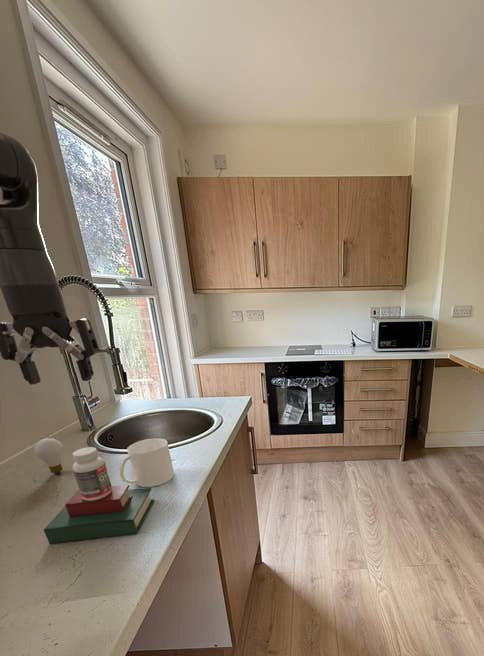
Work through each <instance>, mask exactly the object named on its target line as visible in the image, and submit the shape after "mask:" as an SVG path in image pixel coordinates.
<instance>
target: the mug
mask: <svg viewBox="0 0 484 656" xmlns="http://www.w3.org/2000/svg"><path fill="white" fill-rule="evenodd" d="M168 443H169V442H168V441H167V439H164V438H161V437H152V438H146V439H142V440H138V441H136V442H134V443H132V444H130V445H129V446H127V448H126V451H127V455H126V456H124V457H123V458H122V460H121V462H120V465H119V470H118V471H119V472H118V473H119V477H120V478H121V481H122V482H125V483H127V484H129V485H134V484H135V485H137V486H139V487H141V488H155V487H159V486H161V485H164V484H166V483H168V482H170V481H171V480H172V479H173V477H174V476H175V470H174V466H173V461H172V457H171V453H170V452H171V451H170V449H169V444H168ZM128 461H129V463H130V466H131V470H132V473H133V477H134V479H128V478H127V477H125V474H124V469H125V466H126V463H127V462H128Z"/></svg>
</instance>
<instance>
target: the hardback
mask: <svg viewBox="0 0 484 656" xmlns="http://www.w3.org/2000/svg"><path fill="white" fill-rule="evenodd" d="M152 489H153V487H142V488H133V489H128V490H129V493H130V495H132V498H131V500H130V501H129V503H128V505H127V506H126V508H125V509H124V511H123V512H114V513H104V514H95V515H85V516H76V517H69V514H68V511H67V509H66V506H65V505H64V507H63V508H62V509H61V510H60V511H59V512H58V513H57V514H56V515H55V516H54V518H52V520H51V521H50V522H49V523H48V524H47V525H46V526H45V527H44V528H43V532H44V534H45V537H46V539H47V542H48V545H55V544H56V545H57V544H63V543H71V542H81V541H82V542H83V541H90V540H91V541H92V540H98V539H107V538H115V537H116V538H117V537H125V536H133V535H138V533H139V531H140V529H141V528H142V526H143V524H144V522H145V520H146V518H147V517H148V514H149V512H150V510H151V509H152V507H153V504H154V502H155V498H153V499H152V497H151V494H150V493H151V491H152Z"/></svg>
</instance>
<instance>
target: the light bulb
mask: <svg viewBox="0 0 484 656" xmlns="http://www.w3.org/2000/svg"><path fill="white" fill-rule="evenodd" d="M63 453H64V446H63V444H62V443H61V442H60V440H57V439H56V438H51V437H50V438H47V437H46V438H43V439H41V440H39V441H38V442H37V443H36V444H35V446H34V454H35V456H36V457H37V458H38V459H40V460H41V461H43V462H44V463H45V464H46V466H47V467H48V469H49V471H50V473H51V474H55V475H58V474H60V473H61V472H62V471H63V470H64V469H63V465H62V455H63Z"/></svg>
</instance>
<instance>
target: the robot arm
mask: <svg viewBox="0 0 484 656" xmlns="http://www.w3.org/2000/svg"><path fill="white" fill-rule="evenodd" d="M37 171H38V170H37V168H36V164H35V162H34V160H33V157H32V155H31V154H30V152H29V151H28V149H27V148H26V147H25V146H24V144H23V143H22V142H20V140H19V139H17V138H16V137H14V136H12V135H11V134H8V133H6V132H3V131H0V194H1V195H0V291H1V294H2V296H3V299H4V302H5V305H6V308H7V311H8V313H9V314H10V315H11V317H12V322H8V321H0V356H1V358H2V359H3V360H5V361H8V360H9V361H13V362H15V363H17V364H18V366H19V369H20V371H21V373H22V377H23V379H24V380H25V381H26V382H28V384H29V385H37V384H40V383H41V376H40V374H39V371H38V368H37V365H36V362H35V360H32V358H33V357H34V355H35V353H36V351H37V350H38V349H44V348H59V347H61V348H62V349H63V350H64V351H66V352H69V353H70V354H71V355H72V356H73V357H74V358H76V365H77V368H78V371H79V374H80V378H81V380H82V381H83V382H89V381H91V380H92V378H93V376H94V375H95V374H94V373H95V372H94V368H93V365H92V362H91V358H92V356H94V355H97V354H99V353H100V351H101V350H100V347H99V344H98V341H97V338H96V334H95V331H94V329H93V326H92V323H91V321H90V319H88V318H80V319H77V320H71V319H70V318H69V317H68V314H67V308H66V305H65V301H64V298H63V295H62V294H63V293H62V291H61V288H60V285H59V282H58V278H57V274H56V271H55V268H54V265H53V263H52V260H51V258H50V256H49V254H48V251H47V247H46V244H45V240H44V237H43V234H42V231H41V228H40V223H39V188H38V187H39V181H38V172H37ZM73 329H74V331H75V332H76V333H77V334H79V336H80V337H79V338H80V340H81V342H82V344H81V342H80V341H79V340H77V339H76V338H75V337H74V336H73V335H72V334H71V333H72V330H73ZM16 333H17V334H18V335H19V336H20V337H21V339H20V340H19V341H20V342H19V343H18V346H17V343H16V339H15V335H16Z"/></svg>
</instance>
